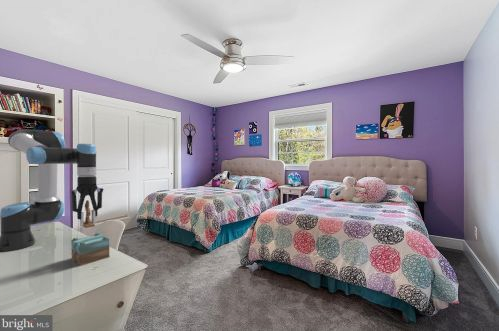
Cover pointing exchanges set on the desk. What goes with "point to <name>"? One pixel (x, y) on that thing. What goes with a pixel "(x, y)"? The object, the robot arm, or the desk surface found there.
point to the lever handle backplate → (87, 220)
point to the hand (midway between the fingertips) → (87, 224)
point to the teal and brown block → (90, 249)
